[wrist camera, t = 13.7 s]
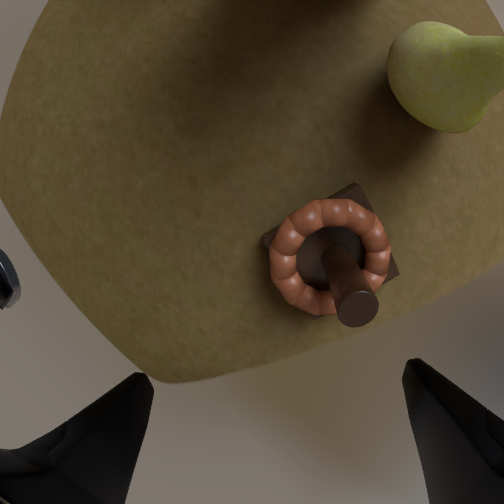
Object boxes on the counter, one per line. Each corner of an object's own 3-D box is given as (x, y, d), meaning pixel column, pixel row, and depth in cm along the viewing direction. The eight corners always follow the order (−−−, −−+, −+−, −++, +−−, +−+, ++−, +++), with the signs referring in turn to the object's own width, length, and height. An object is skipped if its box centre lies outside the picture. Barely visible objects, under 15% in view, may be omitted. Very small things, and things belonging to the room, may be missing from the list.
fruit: (356, 96, 14) (470, 38, 3) (392, 18, 12) (481, -63, 1) (436, 150, 15) (573, 181, 4) (464, 72, 12) (581, 52, 1)
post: (311, 311, 20) (321, 382, 14) (262, 234, 18) (252, 287, 12) (394, 267, 18) (436, 324, 12) (354, 181, 17) (398, 206, 10)
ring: (307, 323, 19) (308, 336, 18) (246, 237, 17) (243, 247, 16) (400, 271, 17) (408, 282, 16) (352, 173, 15) (359, 176, 14)
